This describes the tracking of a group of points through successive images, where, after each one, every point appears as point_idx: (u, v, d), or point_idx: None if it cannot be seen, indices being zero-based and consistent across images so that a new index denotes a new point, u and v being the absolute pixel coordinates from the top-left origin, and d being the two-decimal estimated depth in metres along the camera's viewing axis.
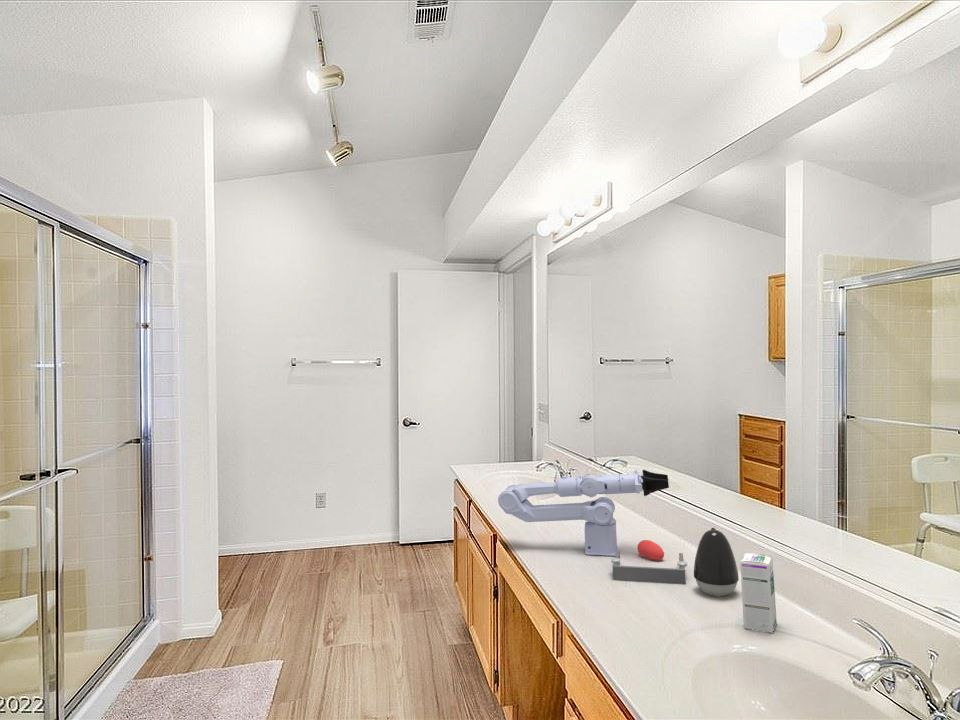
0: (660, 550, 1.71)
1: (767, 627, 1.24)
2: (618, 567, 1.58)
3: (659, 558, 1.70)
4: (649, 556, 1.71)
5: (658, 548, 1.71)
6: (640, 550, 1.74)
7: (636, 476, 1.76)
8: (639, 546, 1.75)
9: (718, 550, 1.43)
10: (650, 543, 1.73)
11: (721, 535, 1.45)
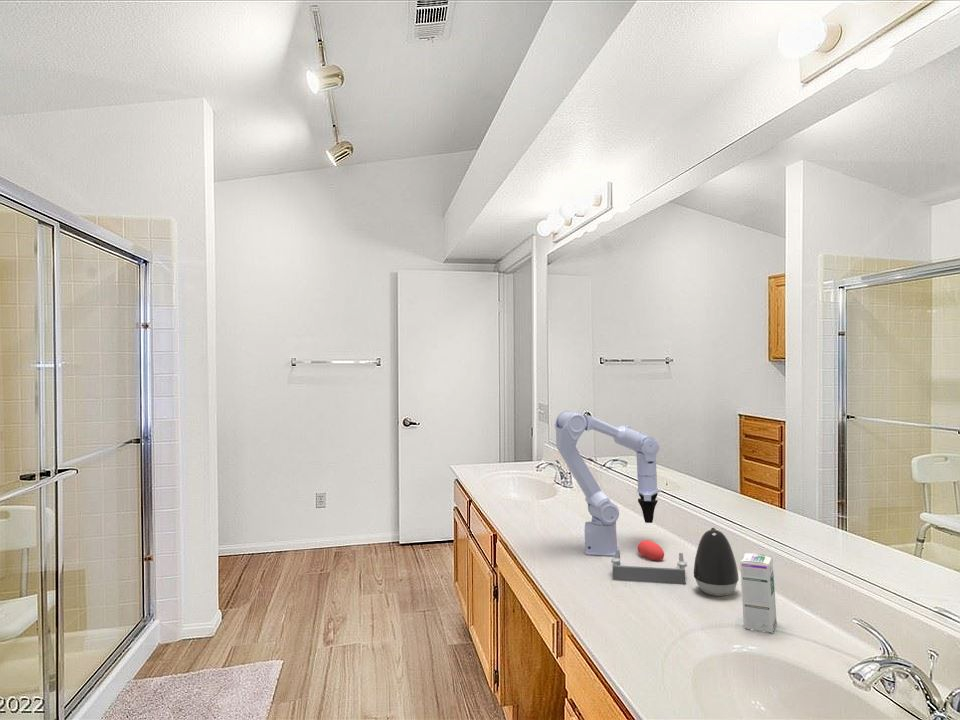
0: (660, 550, 1.71)
1: (767, 627, 1.24)
2: (618, 567, 1.58)
3: (659, 558, 1.70)
4: (649, 556, 1.71)
5: (658, 548, 1.71)
6: (640, 550, 1.74)
7: (655, 492, 1.81)
8: (639, 546, 1.75)
9: (718, 550, 1.43)
10: (650, 543, 1.73)
11: (721, 535, 1.45)
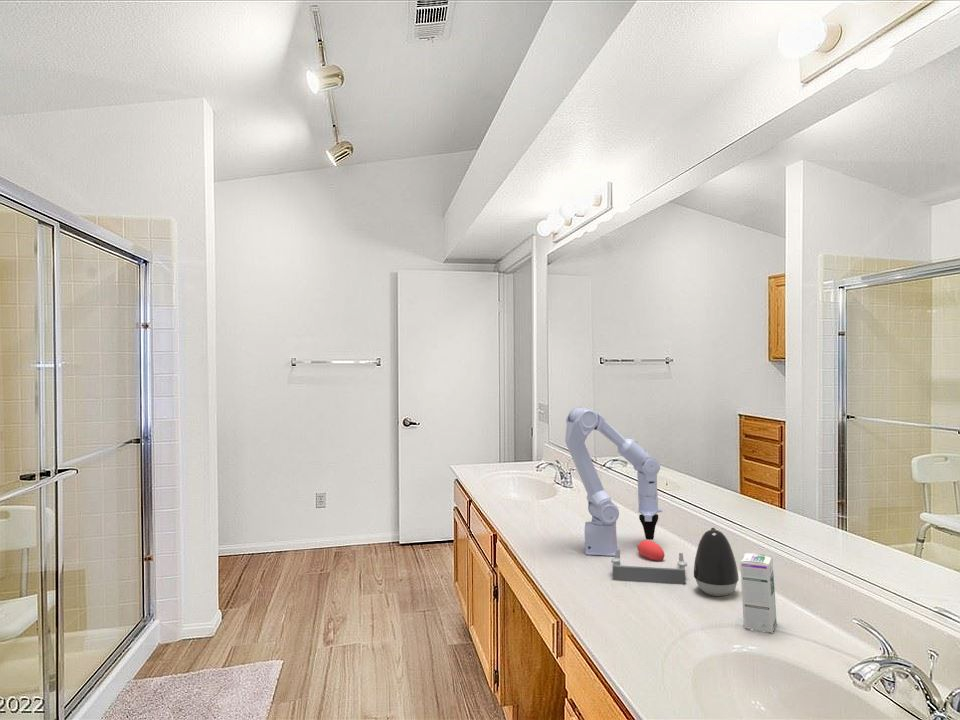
0: (660, 550, 1.71)
1: (767, 627, 1.24)
2: (618, 567, 1.58)
3: (659, 558, 1.70)
4: (649, 556, 1.71)
5: (658, 548, 1.71)
6: (640, 550, 1.74)
7: (656, 512, 1.81)
8: (639, 546, 1.75)
9: (718, 550, 1.43)
10: (650, 543, 1.73)
11: (721, 535, 1.45)
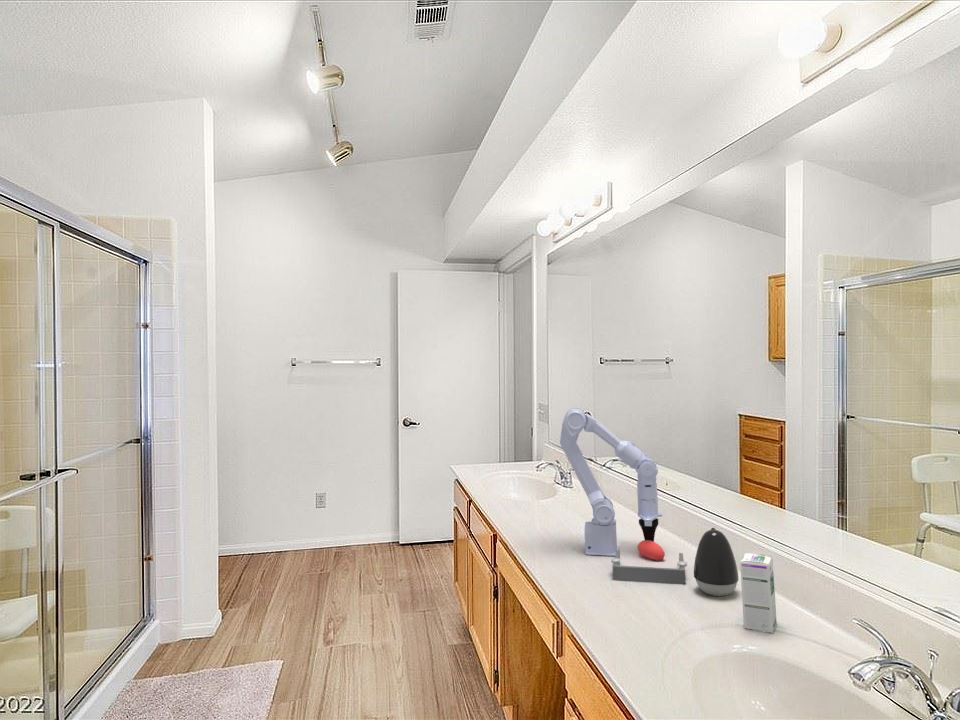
0: (661, 550, 1.71)
1: (767, 627, 1.24)
2: (618, 567, 1.58)
3: (660, 558, 1.70)
4: (650, 556, 1.71)
5: (659, 548, 1.71)
6: (640, 550, 1.74)
7: (656, 517, 1.76)
8: (640, 546, 1.75)
9: (718, 550, 1.43)
10: (651, 543, 1.73)
11: (721, 535, 1.45)
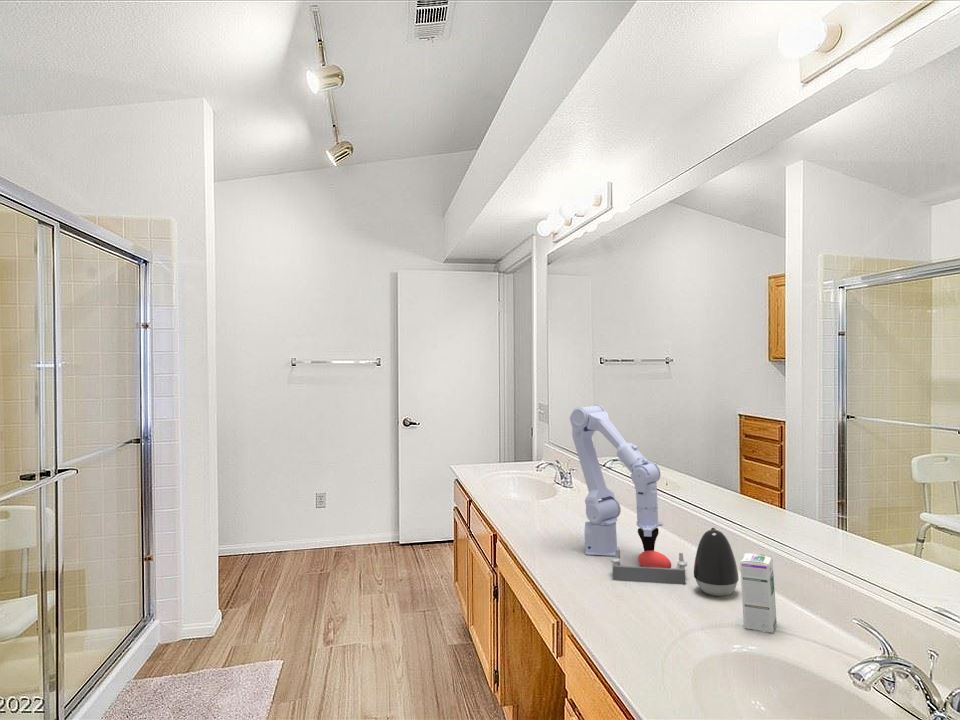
0: (668, 560, 1.62)
1: (767, 627, 1.24)
2: (618, 567, 1.58)
3: None
4: (657, 567, 1.62)
5: (666, 558, 1.62)
6: (645, 562, 1.64)
7: (656, 526, 1.66)
8: (643, 558, 1.64)
9: (718, 550, 1.43)
10: (656, 553, 1.63)
11: (721, 535, 1.45)
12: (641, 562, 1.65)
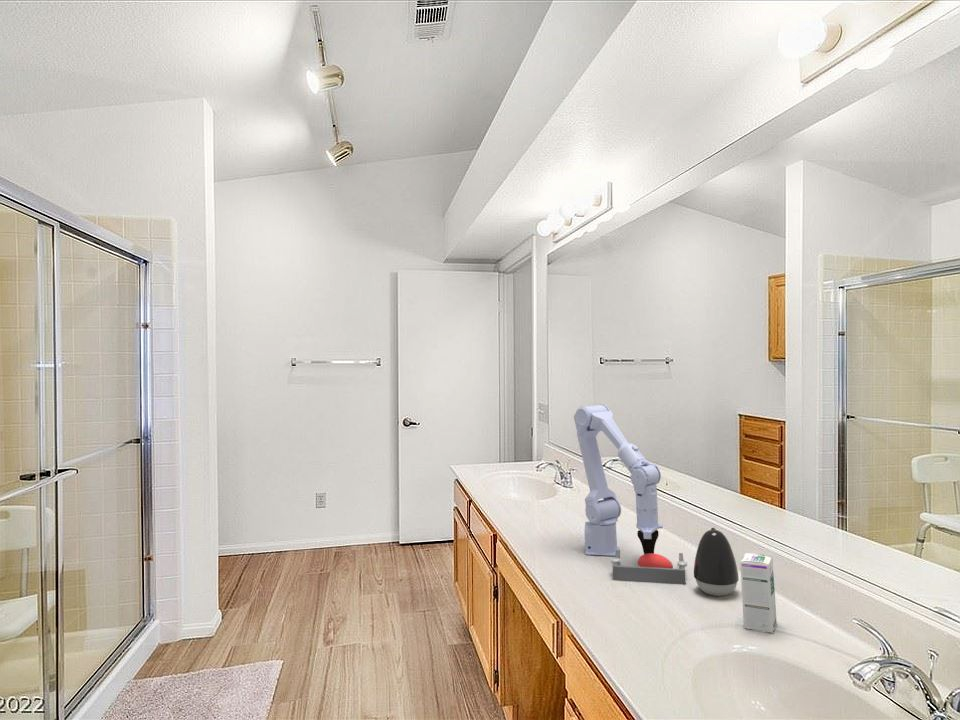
0: (670, 562, 1.60)
1: (767, 627, 1.24)
2: (618, 567, 1.58)
3: None
4: None
5: (667, 560, 1.60)
6: (647, 565, 1.61)
7: (656, 528, 1.64)
8: (645, 561, 1.62)
9: (718, 550, 1.43)
10: (658, 556, 1.61)
11: (721, 535, 1.45)
12: (642, 565, 1.63)
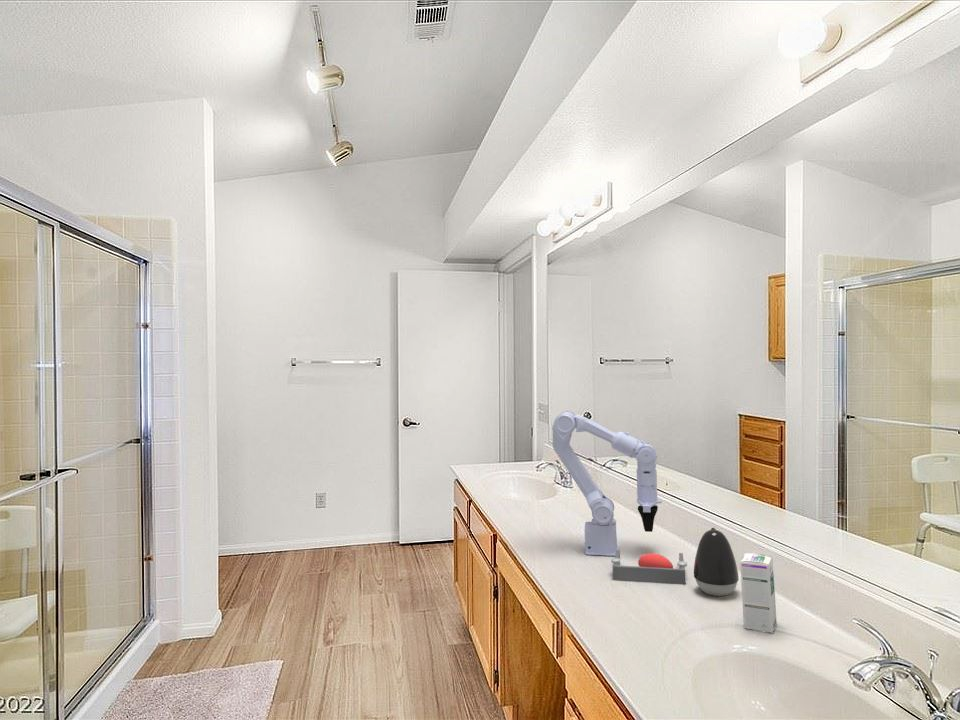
0: (670, 562, 1.60)
1: (767, 627, 1.24)
2: (618, 567, 1.58)
3: None
4: None
5: (668, 560, 1.60)
6: (647, 565, 1.61)
7: (655, 503, 1.75)
8: (645, 561, 1.62)
9: (718, 550, 1.43)
10: (658, 556, 1.61)
11: (721, 535, 1.45)
12: (642, 565, 1.63)
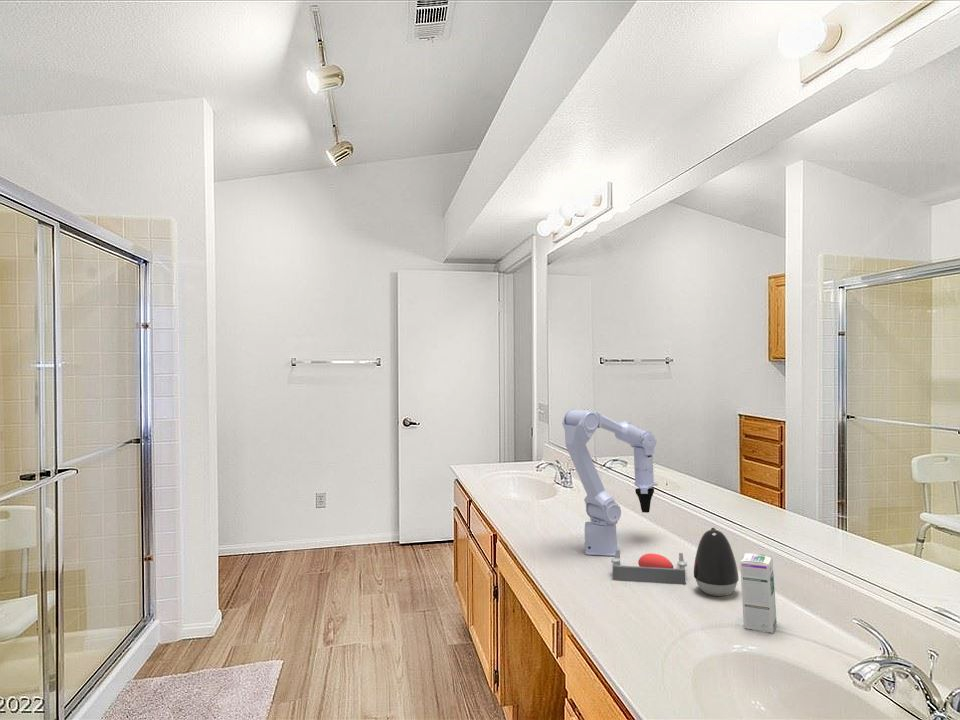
0: (670, 562, 1.61)
1: (767, 627, 1.24)
2: (618, 567, 1.58)
3: None
4: None
5: (668, 560, 1.61)
6: (647, 565, 1.61)
7: (652, 485, 1.86)
8: (645, 561, 1.62)
9: (718, 550, 1.43)
10: (658, 556, 1.61)
11: (721, 535, 1.45)
12: (642, 566, 1.63)
